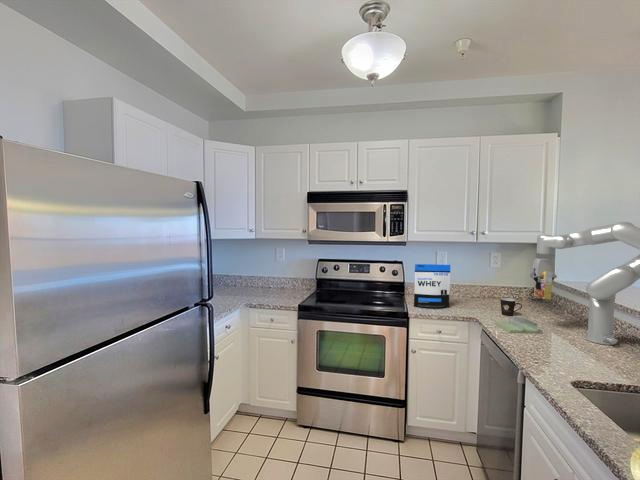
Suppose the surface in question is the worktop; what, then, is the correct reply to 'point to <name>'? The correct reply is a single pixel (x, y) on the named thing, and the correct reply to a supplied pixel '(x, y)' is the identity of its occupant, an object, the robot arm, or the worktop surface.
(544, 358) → the worktop surface
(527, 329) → the deck plate
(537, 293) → the candy box
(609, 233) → the robot arm
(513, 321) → the side bracket
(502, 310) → the coffee mug
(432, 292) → the protein powder
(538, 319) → the worktop surface
